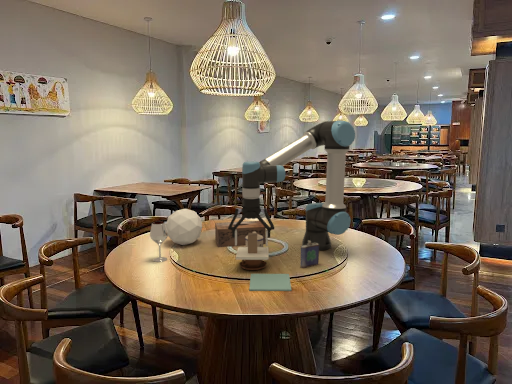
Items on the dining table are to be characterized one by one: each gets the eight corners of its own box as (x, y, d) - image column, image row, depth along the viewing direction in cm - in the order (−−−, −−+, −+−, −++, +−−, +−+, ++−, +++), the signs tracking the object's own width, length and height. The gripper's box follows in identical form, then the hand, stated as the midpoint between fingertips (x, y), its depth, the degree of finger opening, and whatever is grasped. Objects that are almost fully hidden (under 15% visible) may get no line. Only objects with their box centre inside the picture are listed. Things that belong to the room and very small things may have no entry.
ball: (192, 252, 210) (212, 223, 213) (182, 250, 191) (204, 218, 193) (165, 234, 214) (185, 205, 217) (153, 230, 195) (175, 198, 197)
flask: (302, 268, 166) (303, 243, 164) (298, 266, 169) (298, 241, 167) (320, 264, 171) (320, 240, 169) (315, 262, 174) (316, 238, 172)
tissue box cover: (260, 237, 217) (260, 220, 215) (265, 244, 203) (265, 226, 201) (215, 240, 212) (215, 222, 210) (218, 247, 198) (217, 229, 196)
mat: (288, 275, 158) (288, 273, 158) (291, 290, 142) (291, 289, 142) (250, 275, 159) (250, 273, 159) (249, 290, 143) (249, 289, 143)
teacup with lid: (261, 258, 180) (261, 234, 178) (243, 257, 182) (242, 233, 180) (266, 250, 191) (266, 228, 189) (249, 249, 193) (249, 227, 191)
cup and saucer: (257, 274, 160) (257, 260, 159) (234, 269, 166) (234, 255, 165) (271, 266, 170) (271, 252, 169) (249, 261, 176) (249, 248, 175)
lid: (268, 249, 174) (268, 230, 172) (268, 259, 160) (268, 238, 158) (238, 249, 174) (238, 230, 173) (235, 259, 160) (235, 238, 159)
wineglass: (172, 257, 181) (170, 221, 178) (162, 263, 174) (161, 225, 171) (157, 256, 184) (156, 220, 181) (147, 261, 176) (145, 224, 173)
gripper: (279, 196, 166) (279, 242, 169) (223, 195, 167) (224, 242, 170) (280, 199, 159) (279, 247, 162) (221, 198, 159) (222, 247, 163)
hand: (251, 244), depth 166 cm, fingers open, 13 cm apart
